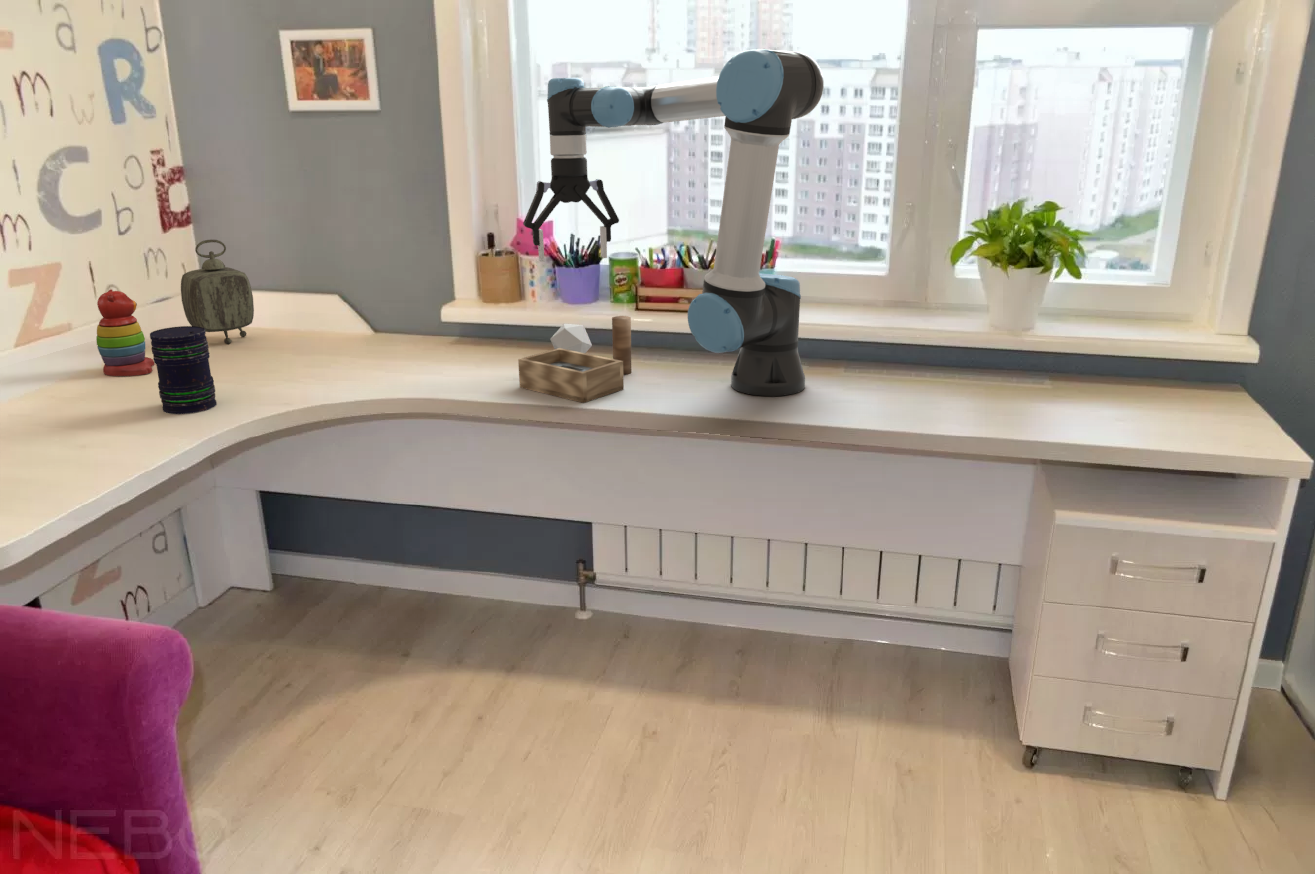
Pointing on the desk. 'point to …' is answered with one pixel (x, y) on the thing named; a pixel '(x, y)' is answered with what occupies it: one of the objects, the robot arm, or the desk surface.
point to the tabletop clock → (217, 296)
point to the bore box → (571, 374)
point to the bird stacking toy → (121, 337)
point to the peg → (622, 341)
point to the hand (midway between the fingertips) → (573, 259)
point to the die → (571, 338)
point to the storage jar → (183, 369)
